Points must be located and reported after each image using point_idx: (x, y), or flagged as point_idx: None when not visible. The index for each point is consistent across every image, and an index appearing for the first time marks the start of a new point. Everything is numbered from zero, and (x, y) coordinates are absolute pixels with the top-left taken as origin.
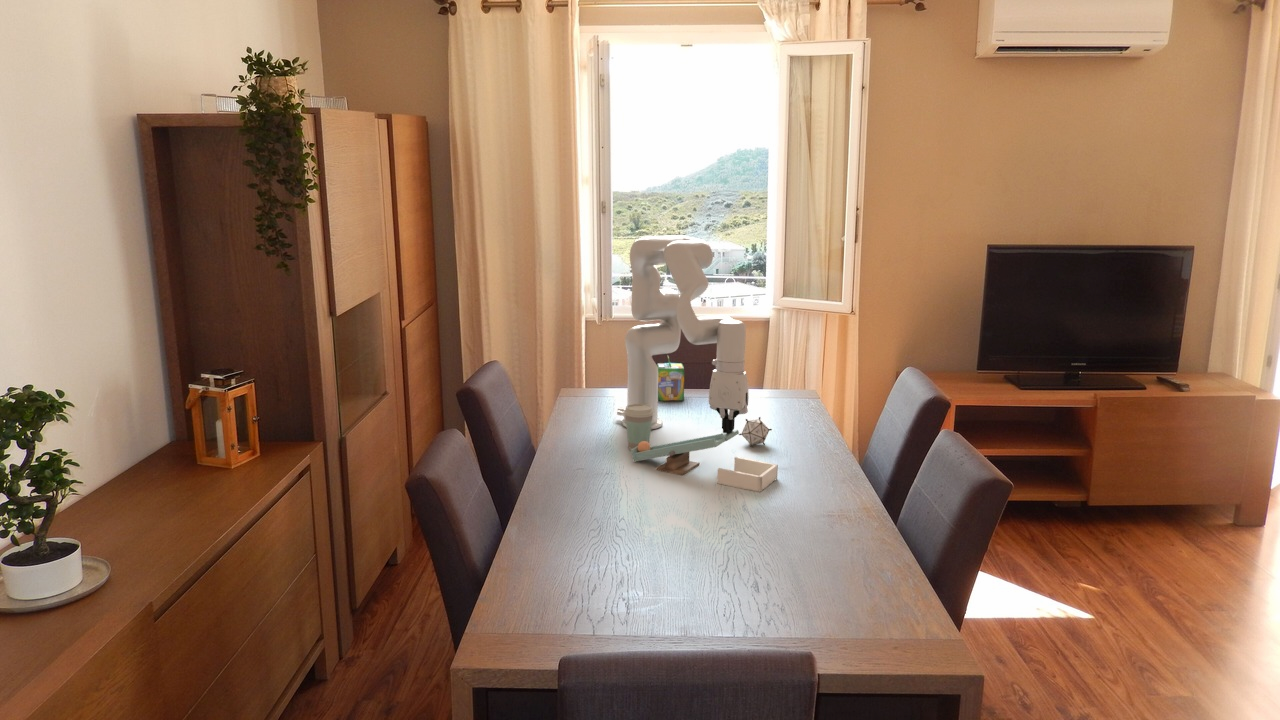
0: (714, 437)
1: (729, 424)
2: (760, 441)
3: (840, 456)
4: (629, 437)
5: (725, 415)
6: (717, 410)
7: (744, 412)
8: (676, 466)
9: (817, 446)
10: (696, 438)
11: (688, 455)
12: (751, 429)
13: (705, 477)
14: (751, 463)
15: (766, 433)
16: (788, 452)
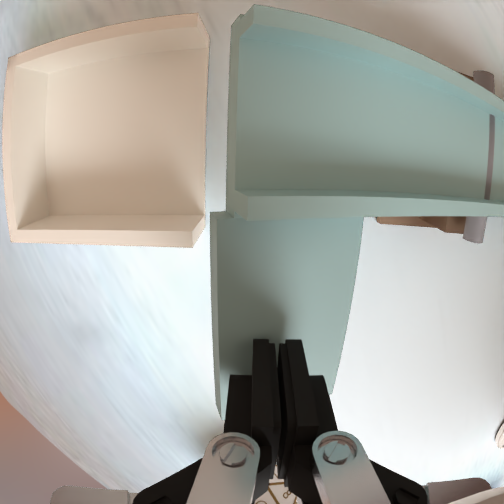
0: (324, 193)
1: (251, 403)
2: None
3: (58, 445)
4: None
5: (307, 470)
6: (412, 488)
7: (67, 497)
8: None
9: (129, 483)
10: (452, 210)
11: (435, 216)
12: (263, 496)
13: None
14: (107, 226)
15: None
16: (154, 449)
